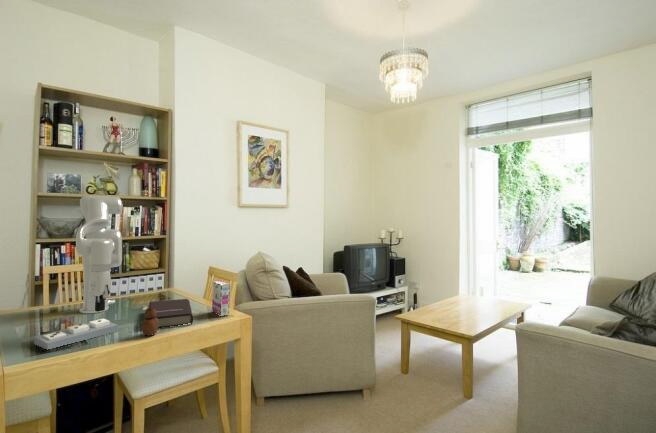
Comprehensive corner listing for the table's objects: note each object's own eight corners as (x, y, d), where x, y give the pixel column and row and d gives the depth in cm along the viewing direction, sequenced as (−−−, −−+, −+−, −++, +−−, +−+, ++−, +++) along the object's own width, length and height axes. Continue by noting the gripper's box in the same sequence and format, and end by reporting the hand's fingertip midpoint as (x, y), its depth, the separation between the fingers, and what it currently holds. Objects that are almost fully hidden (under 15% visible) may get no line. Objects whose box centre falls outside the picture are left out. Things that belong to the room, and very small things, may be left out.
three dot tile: (60, 338, 135) (60, 330, 135) (66, 341, 132) (66, 333, 132) (43, 343, 130) (43, 334, 130) (49, 346, 127) (49, 337, 127)
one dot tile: (103, 325, 149) (103, 317, 149) (109, 327, 146) (109, 320, 146) (89, 328, 144) (89, 321, 144) (95, 331, 141) (95, 323, 141)
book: (193, 325, 157) (193, 313, 157) (146, 330, 149) (146, 317, 148) (189, 309, 182) (189, 298, 182) (149, 313, 174) (149, 301, 174)
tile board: (103, 326, 152) (103, 319, 152) (117, 331, 146) (117, 324, 146) (34, 344, 130) (34, 336, 130) (47, 351, 124) (47, 343, 124)
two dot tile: (82, 330, 142) (82, 322, 142) (89, 333, 139) (89, 325, 139) (67, 334, 137) (67, 326, 137) (73, 337, 134) (73, 329, 134)
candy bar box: (229, 315, 172) (230, 284, 172) (220, 317, 169) (220, 285, 168) (220, 310, 180) (221, 280, 180) (211, 312, 177) (212, 281, 177)
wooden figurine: (146, 332, 146) (147, 298, 146) (160, 332, 147) (161, 298, 146) (139, 338, 139) (140, 302, 139) (153, 337, 140) (154, 302, 140)
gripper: (82, 267, 145) (81, 310, 145) (100, 270, 137) (99, 315, 137) (101, 265, 151) (100, 306, 151) (119, 268, 144) (118, 311, 144)
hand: (99, 310), depth 144 cm, fingers closed
